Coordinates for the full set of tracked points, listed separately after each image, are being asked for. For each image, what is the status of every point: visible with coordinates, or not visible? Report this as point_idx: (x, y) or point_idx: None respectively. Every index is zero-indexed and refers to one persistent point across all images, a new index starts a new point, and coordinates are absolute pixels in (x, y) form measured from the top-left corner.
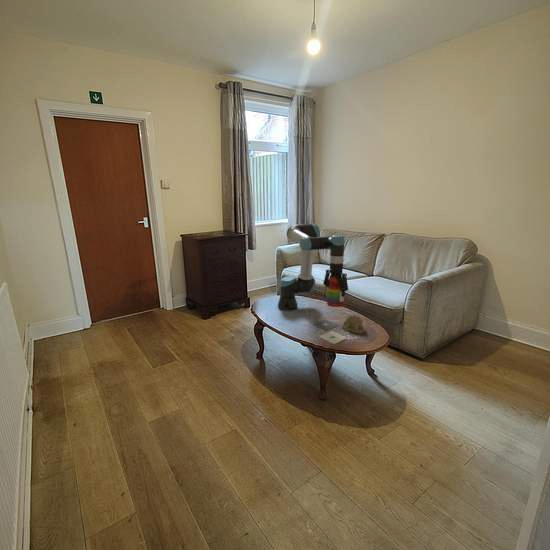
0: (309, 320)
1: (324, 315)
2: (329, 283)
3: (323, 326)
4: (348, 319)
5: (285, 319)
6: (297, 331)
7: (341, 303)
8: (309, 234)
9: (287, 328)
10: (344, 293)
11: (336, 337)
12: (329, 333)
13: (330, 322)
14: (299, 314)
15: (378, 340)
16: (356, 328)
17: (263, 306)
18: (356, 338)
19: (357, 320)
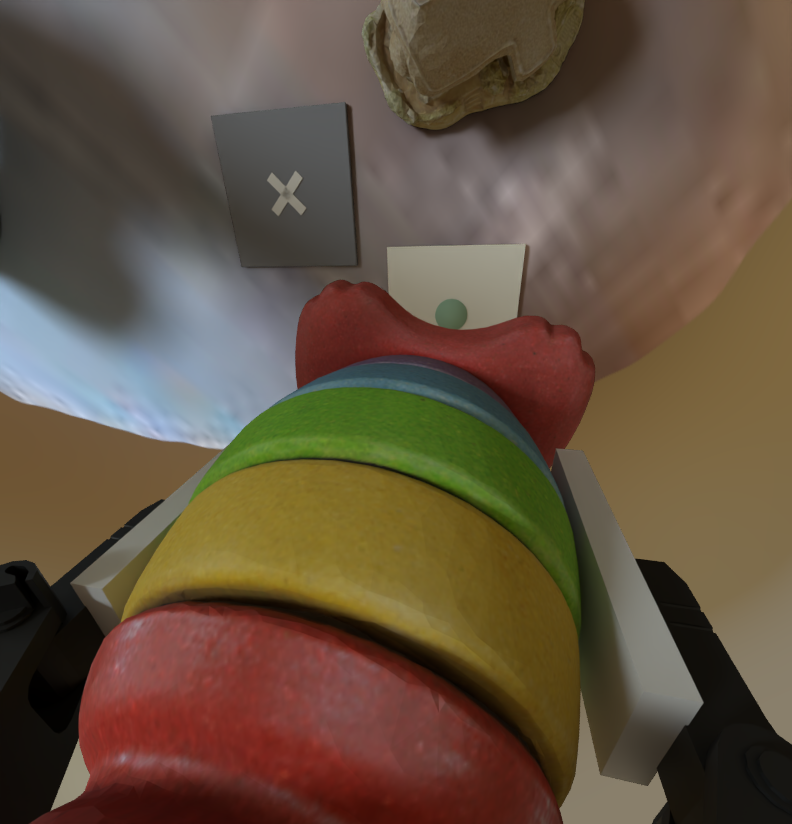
0: (182, 235)
1: (141, 39)
2: (20, 766)
3: (304, 238)
4: (433, 53)
5: (123, 344)
6: (275, 402)
7: (552, 455)
8: None
9: (224, 412)
10: (716, 660)
11: (470, 300)
12: (402, 291)
13: (278, 127)
14: (76, 216)
15: (788, 22)
16: (539, 67)
17: None
18: (586, 181)
19: None
